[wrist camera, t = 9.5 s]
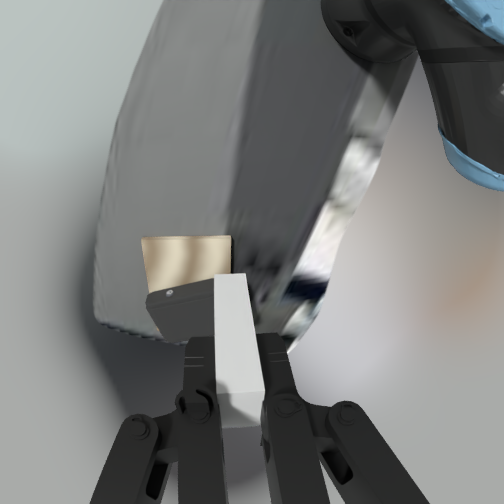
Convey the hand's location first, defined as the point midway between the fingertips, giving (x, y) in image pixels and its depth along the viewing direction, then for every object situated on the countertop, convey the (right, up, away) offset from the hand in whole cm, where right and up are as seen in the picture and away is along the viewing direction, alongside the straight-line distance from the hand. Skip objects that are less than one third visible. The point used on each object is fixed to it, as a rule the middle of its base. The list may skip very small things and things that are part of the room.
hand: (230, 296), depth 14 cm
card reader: (0, -5, +29) cm, 30 cm away
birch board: (-9, -3, +31) cm, 32 cm away
